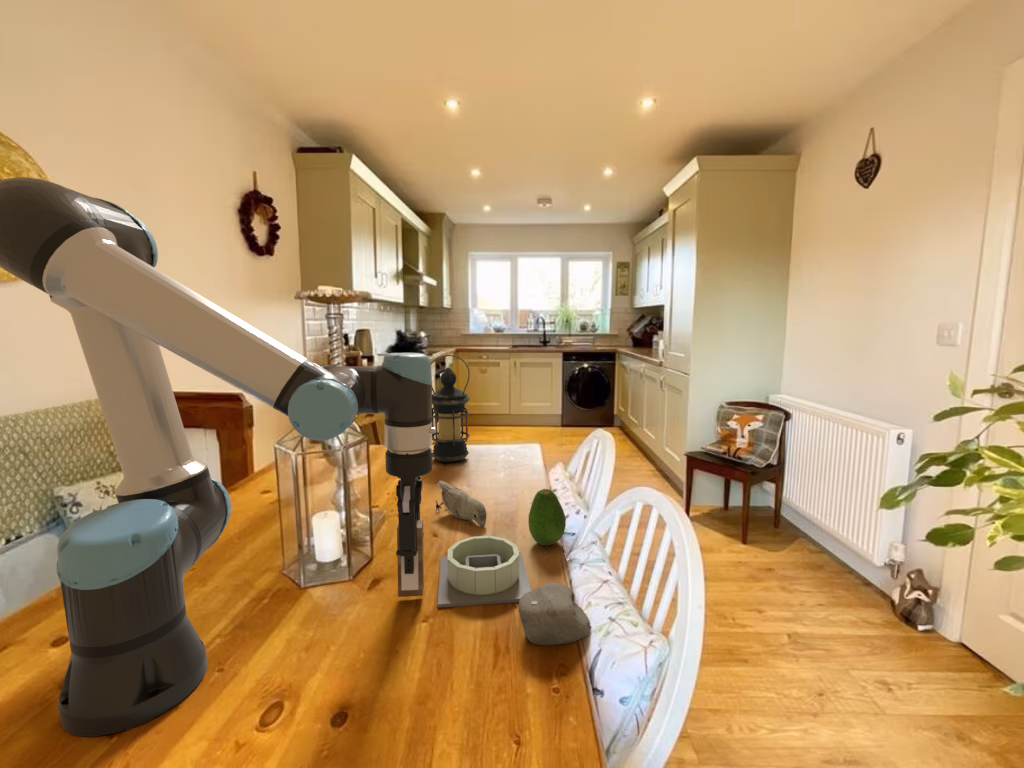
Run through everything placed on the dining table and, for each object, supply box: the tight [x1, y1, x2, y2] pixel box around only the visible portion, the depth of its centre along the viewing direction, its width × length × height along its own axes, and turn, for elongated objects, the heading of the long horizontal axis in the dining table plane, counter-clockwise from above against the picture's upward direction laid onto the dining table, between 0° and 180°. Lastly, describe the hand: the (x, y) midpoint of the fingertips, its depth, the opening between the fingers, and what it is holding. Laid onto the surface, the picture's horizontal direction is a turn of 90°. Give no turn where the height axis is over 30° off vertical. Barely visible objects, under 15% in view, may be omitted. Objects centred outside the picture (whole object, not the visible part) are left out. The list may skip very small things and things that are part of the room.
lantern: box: [431, 354, 471, 463], centre depth 159 cm, size 14×13×35 cm
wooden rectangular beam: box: [396, 519, 425, 598], centre depth 81 cm, size 3×4×12 cm
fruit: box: [528, 488, 567, 546], centre depth 101 cm, size 8×8×12 cm
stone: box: [518, 582, 592, 646], centre depth 74 cm, size 9×9×10 cm
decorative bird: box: [435, 480, 487, 529], centre depth 115 cm, size 5×16×7 cm, turn 46°
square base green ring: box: [437, 535, 532, 608], centre depth 88 cm, size 16×16×5 cm
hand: (411, 582), depth 82 cm, fingers closed on wooden rectangular beam, 3 cm apart
